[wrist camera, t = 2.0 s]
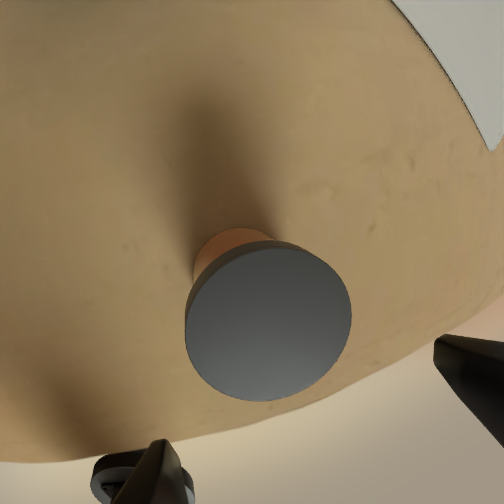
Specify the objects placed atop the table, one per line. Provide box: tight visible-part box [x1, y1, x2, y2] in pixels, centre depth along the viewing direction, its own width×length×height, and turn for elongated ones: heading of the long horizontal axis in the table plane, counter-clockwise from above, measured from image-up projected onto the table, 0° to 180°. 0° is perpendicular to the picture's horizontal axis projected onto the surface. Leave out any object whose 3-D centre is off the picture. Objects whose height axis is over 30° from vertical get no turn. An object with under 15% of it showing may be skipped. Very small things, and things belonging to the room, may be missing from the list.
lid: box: [185, 240, 352, 401], centre depth 13 cm, size 7×7×2 cm
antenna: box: [392, 0, 504, 151], centre depth 19 cm, size 25×24×1 cm
